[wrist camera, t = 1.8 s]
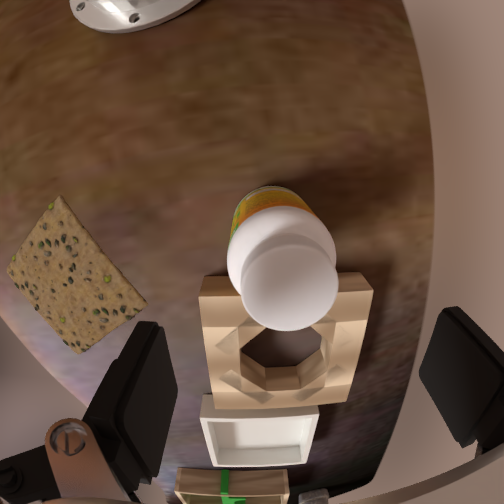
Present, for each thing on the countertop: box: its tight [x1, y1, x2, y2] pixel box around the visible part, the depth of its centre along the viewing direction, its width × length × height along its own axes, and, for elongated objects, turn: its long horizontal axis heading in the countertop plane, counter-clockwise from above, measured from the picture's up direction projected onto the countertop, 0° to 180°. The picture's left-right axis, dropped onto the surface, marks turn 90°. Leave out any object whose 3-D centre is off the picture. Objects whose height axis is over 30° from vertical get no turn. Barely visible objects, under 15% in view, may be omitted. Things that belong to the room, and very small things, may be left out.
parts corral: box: [174, 467, 289, 504], centre depth 33 cm, size 9×16×4 cm, turn 91°
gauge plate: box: [199, 272, 374, 409], centre depth 23 cm, size 12×12×3 cm
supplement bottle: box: [227, 186, 339, 331], centre depth 16 cm, size 5×5×10 cm
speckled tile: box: [7, 195, 148, 354], centre depth 22 cm, size 12×12×1 cm
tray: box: [200, 394, 319, 467], centre depth 28 cm, size 11×11×3 cm
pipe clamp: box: [220, 469, 246, 504], centre depth 33 cm, size 10×4×4 cm, turn 179°
